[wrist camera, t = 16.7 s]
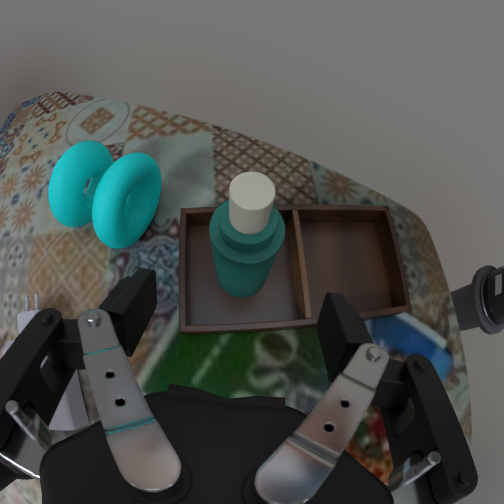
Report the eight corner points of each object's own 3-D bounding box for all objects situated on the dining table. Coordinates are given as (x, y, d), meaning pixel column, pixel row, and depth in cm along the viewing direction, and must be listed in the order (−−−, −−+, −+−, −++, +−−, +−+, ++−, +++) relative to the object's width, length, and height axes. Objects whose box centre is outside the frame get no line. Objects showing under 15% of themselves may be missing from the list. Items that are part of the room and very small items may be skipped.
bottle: (263, 250, 30) (292, 153, 15) (267, 296, 28) (307, 232, 13) (216, 252, 29) (204, 154, 15) (217, 299, 27) (203, 236, 13)
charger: (71, 293, 27) (92, 423, 22) (19, 304, 25) (36, 420, 20) (49, 283, 22) (71, 431, 17) (-4, 295, 21) (13, 424, 16)
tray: (375, 219, 33) (388, 206, 29) (394, 315, 29) (411, 309, 25) (185, 224, 31) (180, 208, 27) (185, 334, 27) (179, 332, 23)
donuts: (133, 265, 29) (94, 226, 19) (71, 235, 29) (28, 195, 20) (172, 192, 32) (155, 135, 23) (110, 172, 33) (83, 120, 23)
